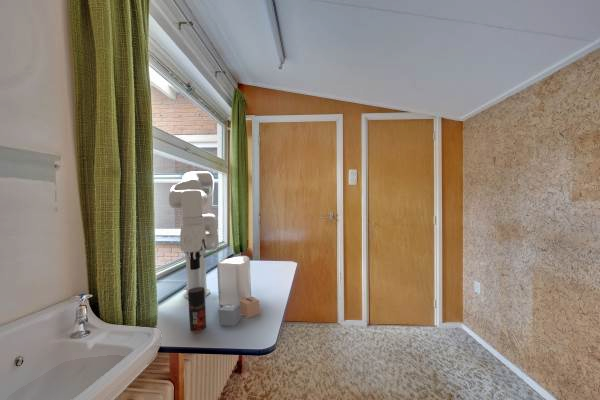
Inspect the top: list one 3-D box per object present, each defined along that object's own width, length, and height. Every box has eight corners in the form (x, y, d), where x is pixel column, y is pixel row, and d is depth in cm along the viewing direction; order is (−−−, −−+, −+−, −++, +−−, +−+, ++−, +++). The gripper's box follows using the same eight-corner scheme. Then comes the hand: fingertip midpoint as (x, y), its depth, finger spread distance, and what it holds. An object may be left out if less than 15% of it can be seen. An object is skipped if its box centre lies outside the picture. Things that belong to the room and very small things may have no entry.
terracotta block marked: (240, 314, 114) (239, 299, 114) (252, 309, 118) (251, 295, 118) (247, 318, 110) (246, 303, 110) (259, 313, 114) (259, 299, 114)
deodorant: (190, 333, 99) (188, 293, 99) (189, 326, 104) (187, 288, 104) (206, 329, 101) (204, 290, 101) (205, 323, 107) (203, 286, 107)
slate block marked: (219, 325, 105) (218, 309, 105) (226, 318, 111) (226, 303, 111) (233, 325, 104) (232, 310, 104) (240, 318, 109) (239, 304, 109)
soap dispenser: (217, 306, 124) (215, 259, 123) (238, 295, 136) (236, 252, 136) (243, 311, 117) (240, 261, 116) (262, 299, 129) (260, 254, 129)
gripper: (171, 222, 103) (173, 269, 103) (198, 222, 96) (201, 273, 96) (187, 220, 109) (189, 265, 109) (214, 220, 102) (216, 268, 103)
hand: (195, 268), depth 103 cm, fingers closed
